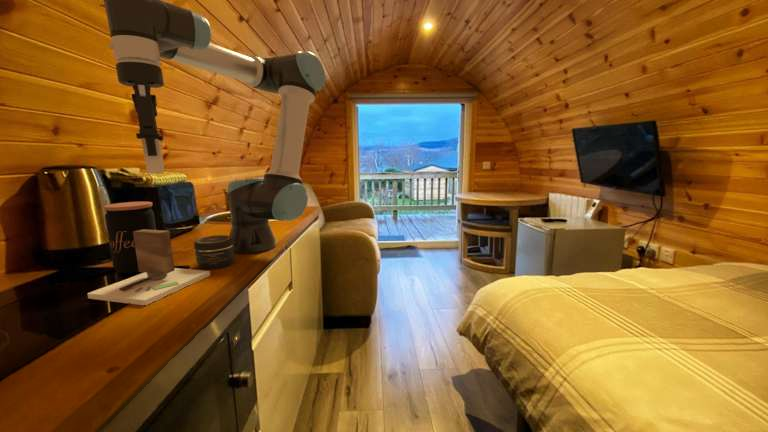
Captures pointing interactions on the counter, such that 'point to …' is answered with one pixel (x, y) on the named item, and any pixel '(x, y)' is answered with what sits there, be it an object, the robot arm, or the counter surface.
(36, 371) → the counter surface
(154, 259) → the brown upright panel
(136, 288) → the plate
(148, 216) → the coffee jar
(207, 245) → the jar
